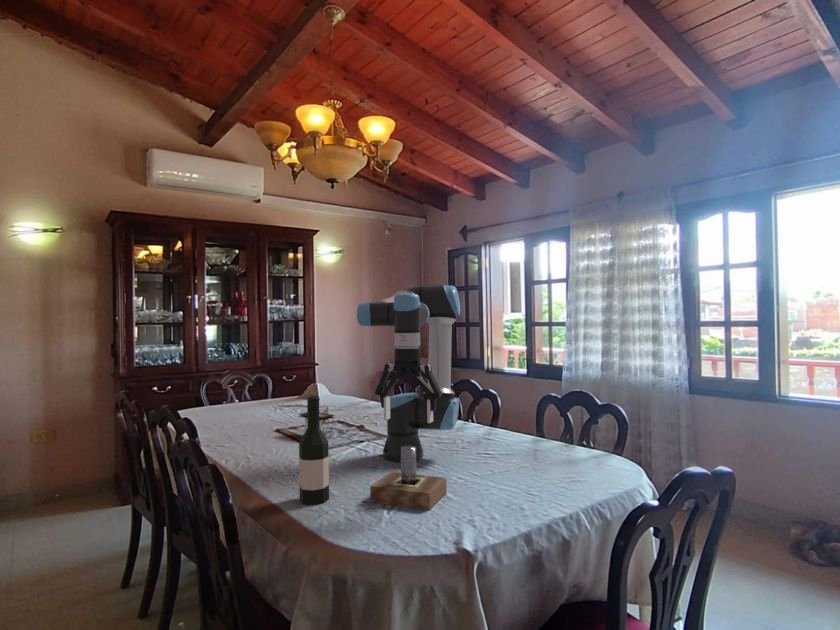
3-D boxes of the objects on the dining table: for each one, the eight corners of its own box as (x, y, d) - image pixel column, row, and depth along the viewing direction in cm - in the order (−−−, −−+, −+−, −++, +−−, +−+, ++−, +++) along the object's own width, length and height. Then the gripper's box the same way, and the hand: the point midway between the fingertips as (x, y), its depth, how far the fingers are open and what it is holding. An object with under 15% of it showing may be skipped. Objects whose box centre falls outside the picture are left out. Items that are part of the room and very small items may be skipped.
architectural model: (368, 437, 223) (367, 405, 223) (317, 451, 201) (316, 415, 201) (316, 427, 245) (316, 397, 245) (266, 438, 224) (265, 406, 224)
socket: (370, 501, 144) (370, 485, 144) (391, 486, 157) (391, 471, 157) (429, 510, 138) (429, 492, 138) (446, 493, 151) (446, 477, 151)
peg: (398, 497, 146) (398, 448, 146) (404, 492, 151) (404, 444, 150) (413, 499, 145) (412, 450, 145) (418, 494, 149) (418, 446, 149)
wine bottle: (301, 495, 150) (300, 393, 150) (330, 494, 151) (329, 393, 151) (297, 505, 142) (296, 398, 142) (327, 504, 143) (326, 397, 143)
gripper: (363, 347, 149) (364, 420, 149) (443, 348, 140) (444, 426, 140) (374, 346, 156) (375, 415, 156) (452, 347, 147) (453, 420, 147)
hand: (408, 420), depth 148 cm, fingers open, 13 cm apart
